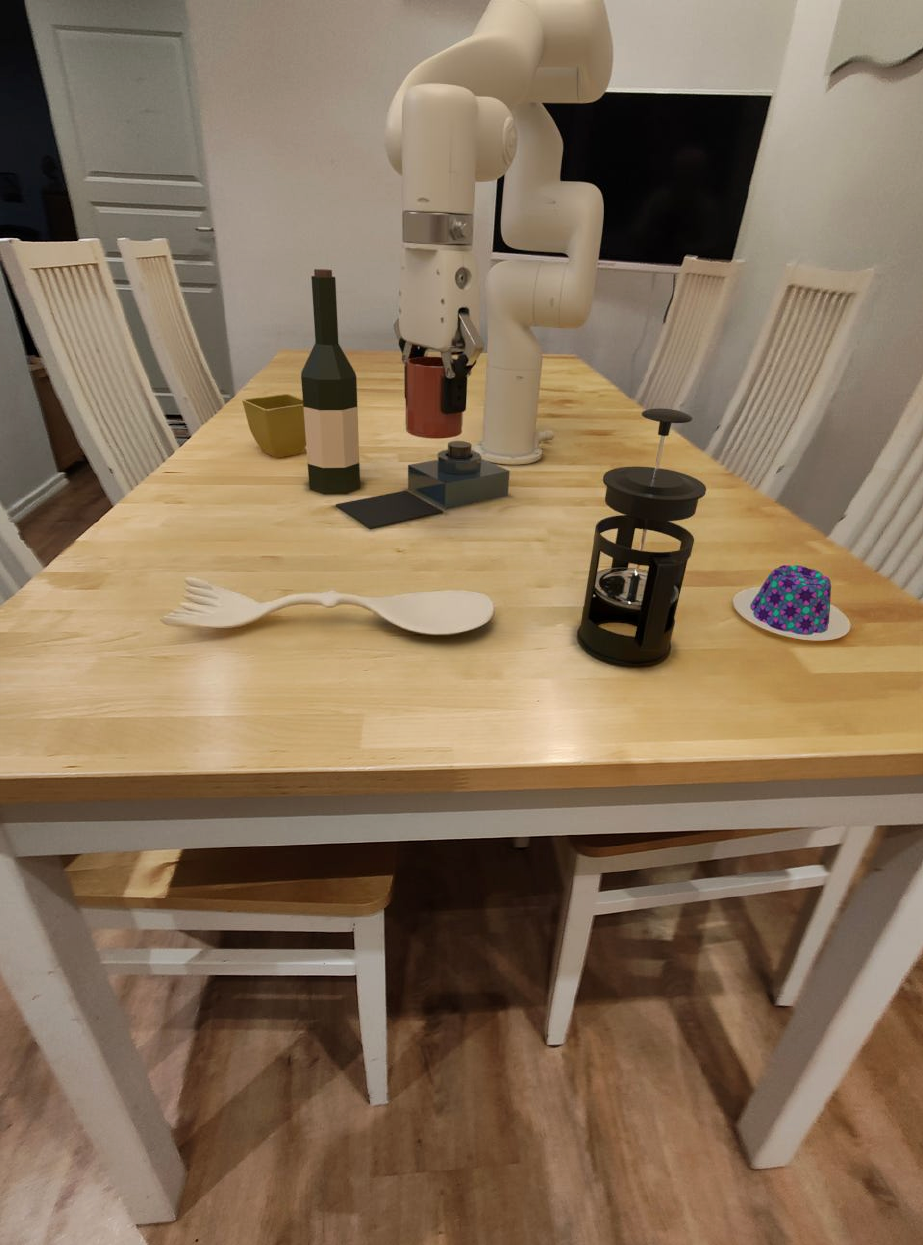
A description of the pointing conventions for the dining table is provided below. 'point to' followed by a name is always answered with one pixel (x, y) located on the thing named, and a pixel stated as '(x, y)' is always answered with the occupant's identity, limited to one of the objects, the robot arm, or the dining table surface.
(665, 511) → the french press
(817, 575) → the purple patterned hat
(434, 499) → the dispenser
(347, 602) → the spoon
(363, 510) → the mat
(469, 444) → the dark brown button
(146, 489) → the dining table surface
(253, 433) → the flower pot
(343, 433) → the wine bottle
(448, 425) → the cup
